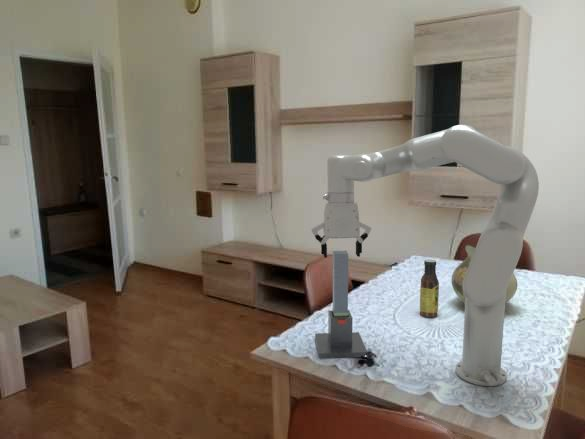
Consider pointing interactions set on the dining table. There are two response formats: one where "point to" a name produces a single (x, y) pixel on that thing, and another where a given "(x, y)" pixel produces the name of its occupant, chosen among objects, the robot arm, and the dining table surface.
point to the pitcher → (461, 272)
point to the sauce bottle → (429, 290)
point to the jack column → (340, 284)
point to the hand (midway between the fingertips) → (341, 256)
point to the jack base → (340, 339)
